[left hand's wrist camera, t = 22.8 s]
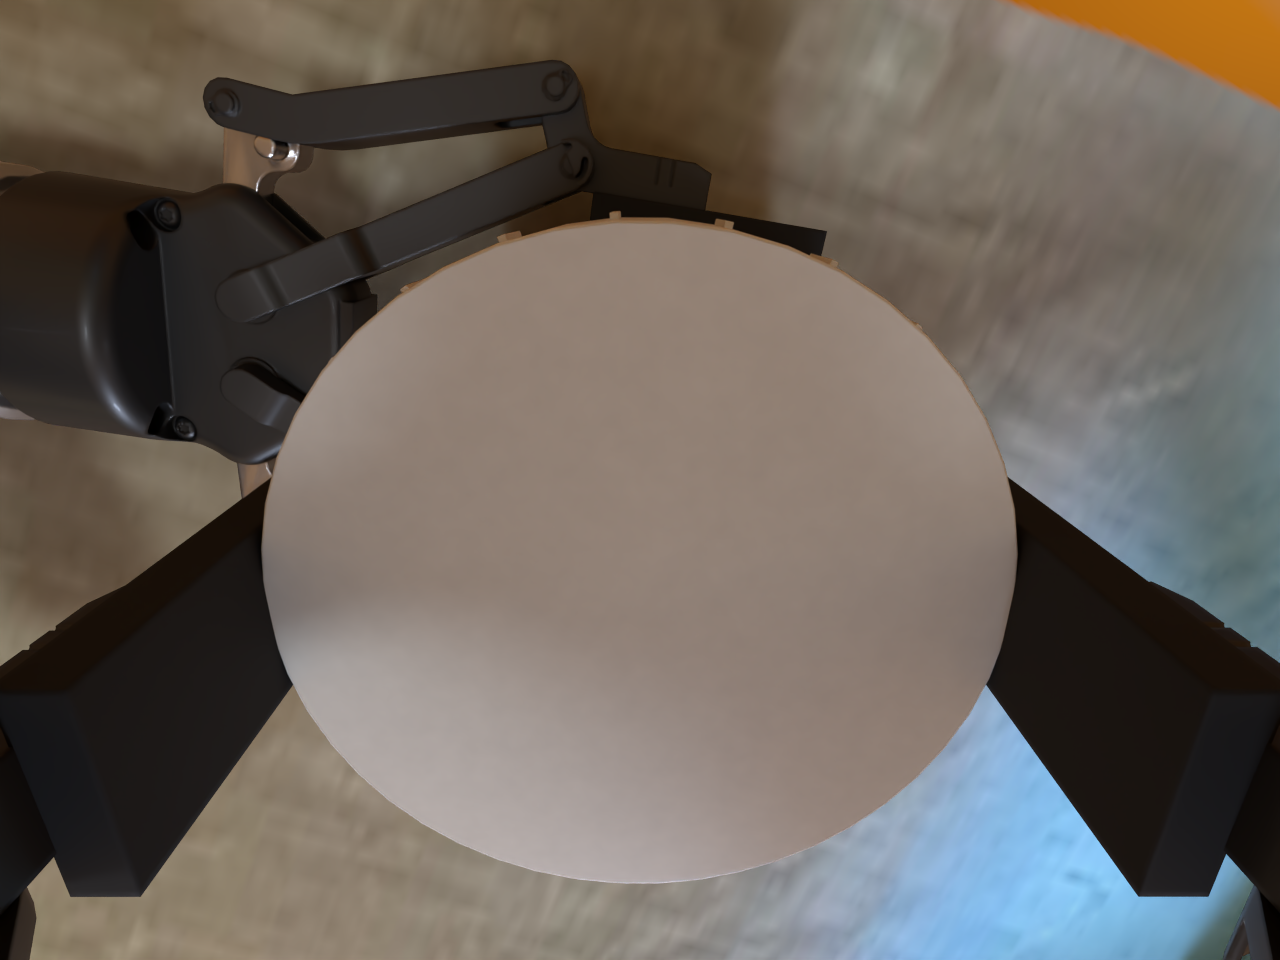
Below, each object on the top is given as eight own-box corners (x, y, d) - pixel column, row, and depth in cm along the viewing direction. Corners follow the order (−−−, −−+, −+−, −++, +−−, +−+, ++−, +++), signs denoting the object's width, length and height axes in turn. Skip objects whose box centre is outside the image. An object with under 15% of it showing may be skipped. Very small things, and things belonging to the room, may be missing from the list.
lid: (1098, 362, 11) (1182, 390, 9) (803, 861, 14) (824, 945, 13) (386, 93, 9) (332, 69, 8) (266, 720, 13) (212, 794, 11)
